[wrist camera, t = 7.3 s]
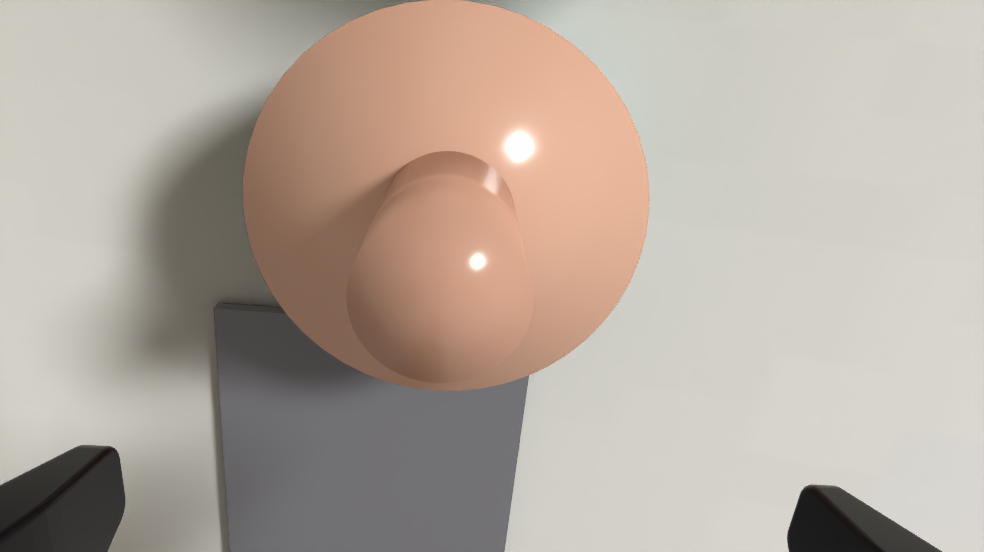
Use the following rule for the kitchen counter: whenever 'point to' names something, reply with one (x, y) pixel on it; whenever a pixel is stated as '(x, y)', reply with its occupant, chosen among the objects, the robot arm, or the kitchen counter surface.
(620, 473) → the kitchen counter surface
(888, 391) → the kitchen counter surface
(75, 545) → the robot arm
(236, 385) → the mat
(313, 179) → the lid
